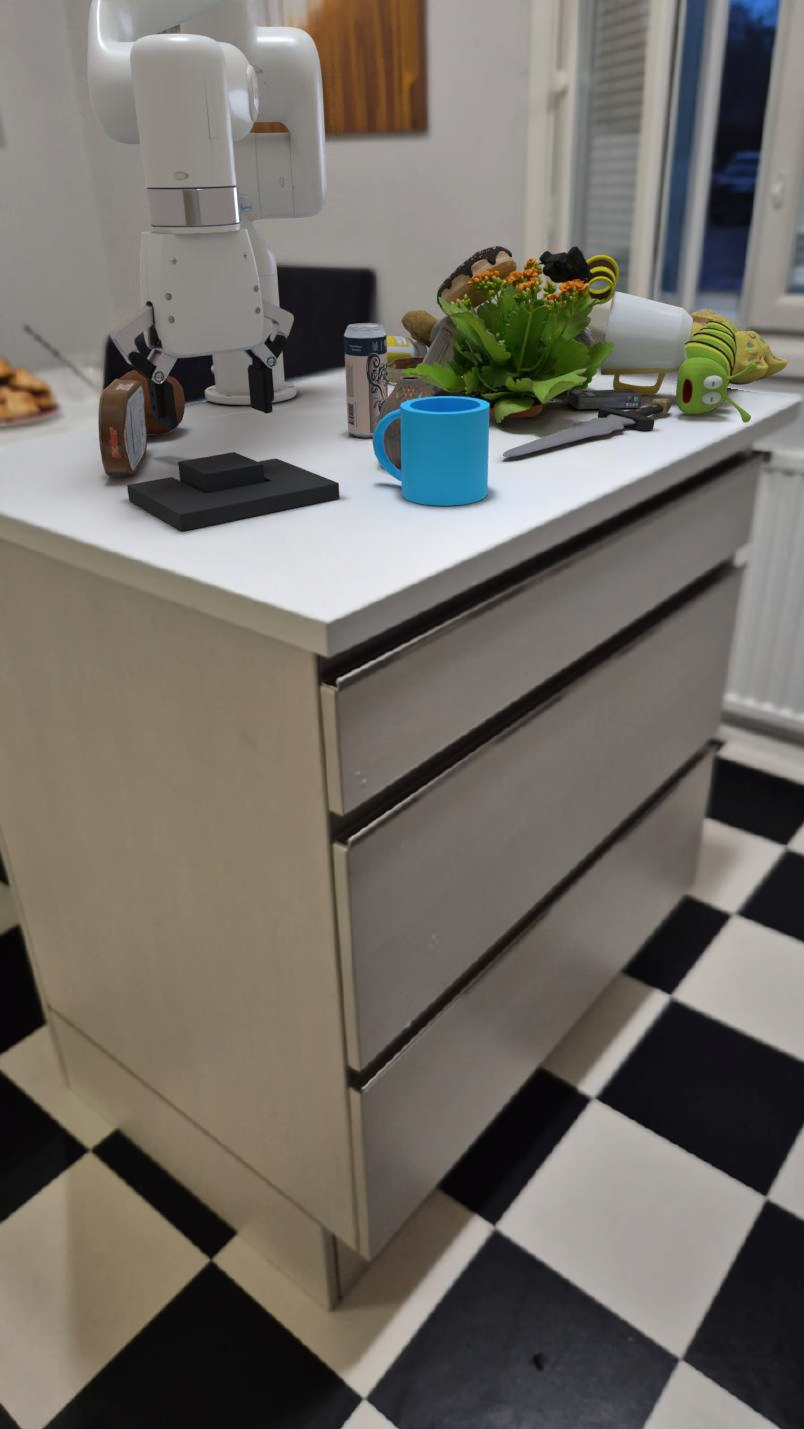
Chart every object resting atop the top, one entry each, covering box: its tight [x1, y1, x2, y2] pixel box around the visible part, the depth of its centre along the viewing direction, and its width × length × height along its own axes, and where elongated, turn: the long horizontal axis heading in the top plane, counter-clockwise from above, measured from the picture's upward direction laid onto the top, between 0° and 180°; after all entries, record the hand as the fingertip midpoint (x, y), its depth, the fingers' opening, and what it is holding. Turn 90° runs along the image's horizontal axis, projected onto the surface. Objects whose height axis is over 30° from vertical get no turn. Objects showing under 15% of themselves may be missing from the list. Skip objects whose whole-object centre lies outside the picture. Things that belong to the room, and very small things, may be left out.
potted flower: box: [402, 258, 614, 424], centre depth 122 cm, size 25×24×18 cm
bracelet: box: [387, 356, 425, 384], centre depth 146 cm, size 9×9×3 cm
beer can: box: [343, 322, 389, 438], centre depth 113 cm, size 5×5×12 cm
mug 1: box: [372, 395, 490, 507], centre depth 93 cm, size 12×8×8 cm
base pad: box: [126, 457, 340, 532], centre depth 93 cm, size 12×16×2 cm
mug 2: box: [600, 290, 693, 396], centre depth 129 cm, size 14×10×10 cm
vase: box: [378, 376, 434, 469], centre depth 101 cm, size 7×7×9 cm
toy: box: [675, 320, 757, 424], centre depth 127 cm, size 8×28×10 cm
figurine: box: [690, 308, 788, 386], centre depth 139 cm, size 11×9×15 cm
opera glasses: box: [558, 254, 620, 318], centre depth 127 cm, size 10×5×5 cm
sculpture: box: [400, 309, 439, 349], centre depth 154 cm, size 13×4×15 cm
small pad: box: [177, 451, 265, 494], centre depth 94 cm, size 6×6×3 cm
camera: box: [422, 305, 480, 397], centre depth 136 cm, size 11×6×10 cm
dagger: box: [502, 398, 672, 458], centre depth 113 cm, size 8×32×2 cm, turn 143°
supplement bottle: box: [387, 335, 428, 364], centre depth 150 cm, size 5×5×10 cm
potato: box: [118, 369, 186, 436], centre depth 116 cm, size 8×11×8 cm
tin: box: [97, 378, 148, 477], centre depth 103 cm, size 15×3×8 cm, turn 5°
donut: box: [436, 245, 518, 316], centre depth 126 cm, size 11×12×4 cm
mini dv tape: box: [567, 389, 642, 410], centre depth 128 cm, size 8×2×6 cm
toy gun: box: [538, 245, 593, 284], centre depth 123 cm, size 20×3×6 cm
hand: (215, 418), depth 92 cm, fingers open, 9 cm apart
